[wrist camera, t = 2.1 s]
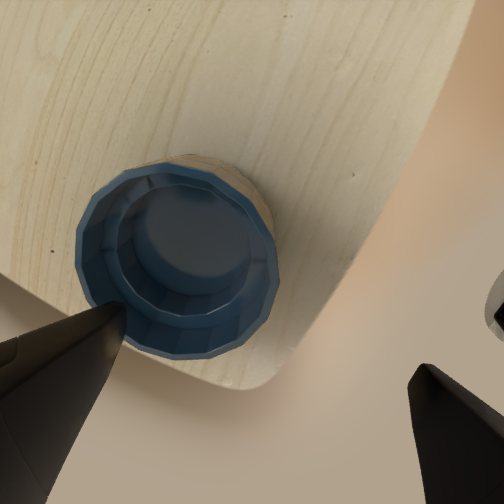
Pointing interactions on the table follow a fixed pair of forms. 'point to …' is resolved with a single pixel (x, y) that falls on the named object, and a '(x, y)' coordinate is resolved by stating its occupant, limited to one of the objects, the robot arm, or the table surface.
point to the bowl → (181, 256)
